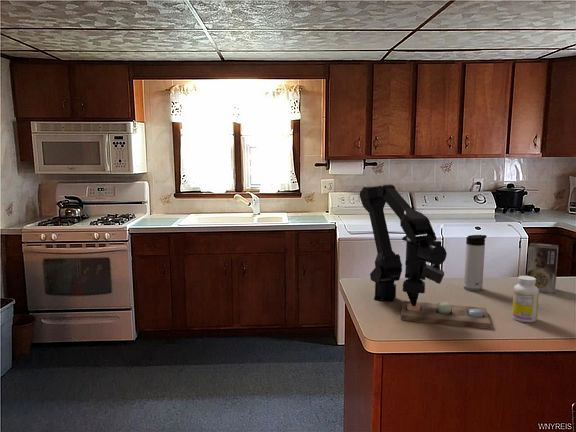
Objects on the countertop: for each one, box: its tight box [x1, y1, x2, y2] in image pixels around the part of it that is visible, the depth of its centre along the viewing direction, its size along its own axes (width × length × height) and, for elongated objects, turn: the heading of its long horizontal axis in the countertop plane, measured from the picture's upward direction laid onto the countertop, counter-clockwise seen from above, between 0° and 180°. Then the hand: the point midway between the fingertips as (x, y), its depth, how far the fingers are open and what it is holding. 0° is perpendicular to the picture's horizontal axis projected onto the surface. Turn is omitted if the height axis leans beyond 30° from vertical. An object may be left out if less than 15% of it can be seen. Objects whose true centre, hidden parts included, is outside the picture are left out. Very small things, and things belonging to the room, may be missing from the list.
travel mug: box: [463, 234, 487, 292], centre depth 165 cm, size 6×7×20 cm
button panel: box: [400, 300, 492, 330], centre depth 141 cm, size 25×13×2 cm, turn 73°
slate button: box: [468, 309, 483, 318], centre depth 139 cm, size 4×4×2 cm
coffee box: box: [526, 242, 559, 294], centre depth 164 cm, size 9×6×16 cm
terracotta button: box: [406, 304, 421, 312], centre depth 144 cm, size 4×4×2 cm
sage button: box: [437, 301, 452, 315], centre depth 141 cm, size 4×4×2 cm
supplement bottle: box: [511, 275, 540, 323], centre depth 137 cm, size 7×7×13 cm
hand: (413, 305), depth 144 cm, fingers closed, pressing on terracotta button
